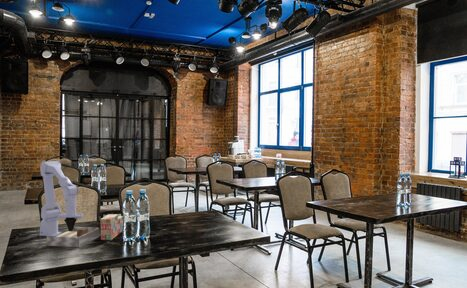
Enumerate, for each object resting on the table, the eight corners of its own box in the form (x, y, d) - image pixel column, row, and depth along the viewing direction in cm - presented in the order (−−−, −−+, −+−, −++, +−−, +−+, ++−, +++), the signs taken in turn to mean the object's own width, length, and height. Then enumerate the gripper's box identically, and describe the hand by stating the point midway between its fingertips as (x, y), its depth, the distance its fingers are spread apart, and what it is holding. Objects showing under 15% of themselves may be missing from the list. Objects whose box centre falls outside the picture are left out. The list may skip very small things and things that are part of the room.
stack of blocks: (113, 230, 231) (113, 211, 231) (123, 230, 231) (123, 211, 231) (100, 240, 210) (100, 218, 210) (111, 240, 210) (111, 218, 210)
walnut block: (76, 236, 206) (76, 229, 206) (81, 234, 210) (81, 227, 210) (83, 237, 205) (83, 229, 205) (87, 235, 209) (87, 228, 209)
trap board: (46, 245, 199) (46, 236, 199) (70, 235, 220) (70, 226, 220) (78, 247, 196) (78, 237, 196) (99, 236, 217) (99, 228, 217)
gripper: (54, 207, 205) (54, 232, 206) (78, 208, 203) (78, 233, 204) (62, 205, 212) (62, 228, 213) (85, 206, 210) (85, 230, 210)
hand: (70, 230), depth 209 cm, fingers closed
